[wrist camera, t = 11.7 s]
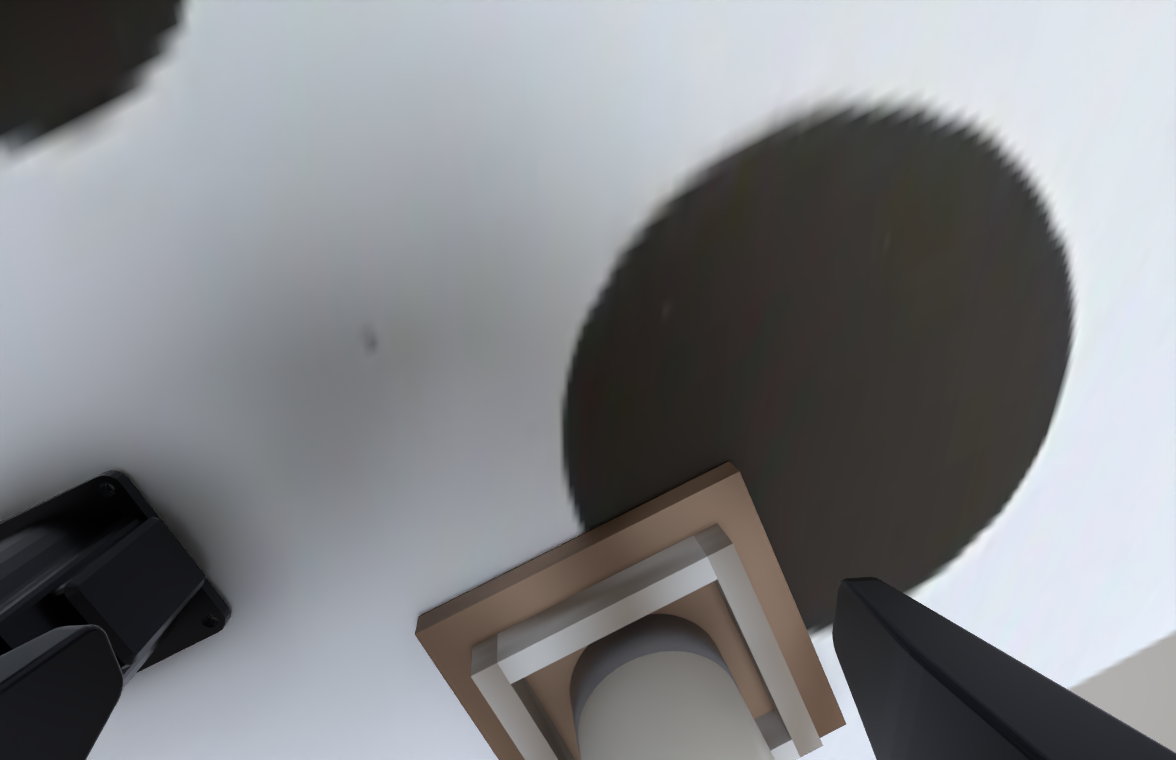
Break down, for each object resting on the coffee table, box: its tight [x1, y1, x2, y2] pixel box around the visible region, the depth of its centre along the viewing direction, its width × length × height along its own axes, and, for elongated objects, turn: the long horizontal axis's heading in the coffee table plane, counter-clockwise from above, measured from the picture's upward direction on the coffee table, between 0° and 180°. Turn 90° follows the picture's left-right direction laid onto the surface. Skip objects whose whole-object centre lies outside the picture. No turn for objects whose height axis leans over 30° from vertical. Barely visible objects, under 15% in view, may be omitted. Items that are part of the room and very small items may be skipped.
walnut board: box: [415, 461, 846, 760], centre depth 22 cm, size 13×13×2 cm
